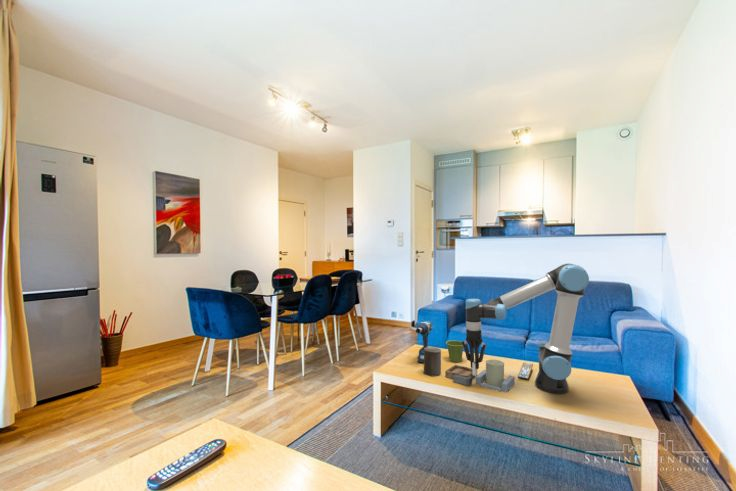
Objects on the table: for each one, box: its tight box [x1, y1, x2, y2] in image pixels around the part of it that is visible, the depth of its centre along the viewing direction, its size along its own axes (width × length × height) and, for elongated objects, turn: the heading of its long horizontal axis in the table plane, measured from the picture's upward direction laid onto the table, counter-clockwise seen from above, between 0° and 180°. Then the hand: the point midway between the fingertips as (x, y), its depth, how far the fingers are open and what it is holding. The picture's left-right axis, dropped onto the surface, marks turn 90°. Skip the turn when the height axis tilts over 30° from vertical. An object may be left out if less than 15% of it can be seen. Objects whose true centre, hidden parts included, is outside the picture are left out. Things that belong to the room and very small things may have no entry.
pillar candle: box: [423, 346, 442, 377], centre depth 195 cm, size 10×10×15 cm
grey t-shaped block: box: [452, 374, 473, 387], centre depth 180 cm, size 9×4×4 cm, turn 51°
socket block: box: [474, 369, 516, 393], centre depth 179 cm, size 16×15×4 cm
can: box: [485, 359, 505, 388], centre depth 179 cm, size 9×9×12 cm
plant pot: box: [445, 339, 464, 363], centre depth 216 cm, size 12×12×11 cm
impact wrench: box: [415, 320, 434, 364], centre depth 213 cm, size 8×22×25 cm, turn 152°
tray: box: [445, 364, 478, 380], centre depth 189 cm, size 13×13×4 cm
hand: (475, 374), depth 176 cm, fingers closed
